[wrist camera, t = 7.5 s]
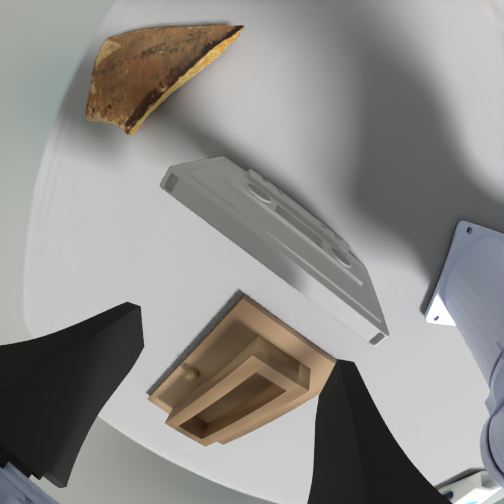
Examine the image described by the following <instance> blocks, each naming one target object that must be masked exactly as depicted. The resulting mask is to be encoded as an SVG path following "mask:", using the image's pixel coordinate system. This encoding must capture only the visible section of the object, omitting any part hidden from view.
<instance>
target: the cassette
mask: <svg viewBox="0 0 504 504" xmlns="http://www.w3.org/2000/svg"><path fill="white" fill-rule="evenodd" d="M160 187H161V188H162V189H163V190H165V191H166V192H167V193H169V194H170V195H171V196H173V197H174V198H175V199H177V200H178V201H179V202H181V203H182V204H183V205H185V206H186V207H187V208H189V209H190V210H191V211H193V212H194V213H195V214H197V215H198V216H199V217H201V218H202V219H203V220H205V221H206V222H207V223H209V224H210V225H211V226H212V227H214V228H215V229H216V230H218V231H219V232H220V233H222V234H223V235H224V236H226V237H227V238H228V239H230V240H231V241H232V242H234V243H235V244H236V245H238V246H239V247H240V248H242V249H243V250H244V251H246V252H247V253H248V254H250V255H251V256H252V257H254V258H255V259H256V260H258V261H259V262H260V263H262V264H263V265H264V266H266V267H267V268H268V269H270V270H271V271H272V272H274V273H275V274H276V275H278V276H279V277H280V278H282V279H283V280H284V281H286V282H287V283H288V284H290V285H291V286H292V287H294V288H295V289H296V290H298V291H299V292H300V293H302V294H303V295H304V296H306V297H307V298H308V299H310V300H311V301H312V302H314V303H315V304H316V305H318V306H319V307H320V308H322V309H323V310H324V311H326V312H327V313H328V314H330V315H331V316H332V317H334V318H335V319H336V320H338V321H339V322H341V323H342V324H343V325H345V326H346V327H347V328H349V329H350V330H351V331H353V332H354V333H355V334H357V335H358V336H359V337H361V338H362V339H363V340H365V341H366V342H367V343H369V344H370V345H371V346H372V347H376V346H378V345H379V344H380V343H381V342H383V341H384V340H385V339H386V338H387V337H388V336H389V332H388V328H387V325H386V322H385V319H384V316H383V313H382V310H381V307H380V304H379V301H378V298H377V295H376V293H375V290H374V287H373V284H372V282H371V279H370V276H369V273H368V271H367V269H366V267H365V266H364V265H363V264H362V263H361V262H359V261H358V260H357V259H356V258H355V257H354V256H353V255H351V254H350V253H349V249H350V246H349V245H348V244H347V243H345V242H344V241H343V240H342V239H341V238H339V237H338V236H337V235H336V234H335V233H333V232H332V231H331V230H330V229H329V228H327V227H326V226H325V225H324V224H322V223H321V222H320V221H319V220H318V219H316V218H315V217H314V216H313V215H311V214H310V213H309V212H308V211H306V210H305V209H304V208H303V207H301V206H300V205H299V204H297V203H296V202H295V201H294V200H292V199H291V198H290V197H288V196H287V195H286V194H285V193H283V192H282V191H281V190H279V189H278V188H277V187H275V186H274V185H273V184H271V183H270V182H269V181H267V180H266V179H265V178H263V177H262V176H261V175H259V174H258V173H257V172H255V171H254V170H253V169H251V168H250V169H249V170H248V171H245V170H243V169H242V168H240V167H239V166H238V165H236V164H235V163H233V162H232V161H231V160H229V159H228V158H226V157H224V156H220V157H215V158H209V159H203V160H198V161H193V162H188V163H183V164H178V165H173V166H170V167H169V169H168V170H167V172H166V174H165V176H164V178H163V179H162V181H161V183H160Z"/></svg>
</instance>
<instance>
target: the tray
mask: <svg viewBox="0 0 504 504" xmlns="http://www.w3.org/2000/svg"><path fill="white" fill-rule="evenodd" d="M336 361H337V360H336V359H334V358H333V357H331V356H330V355H328V354H327V353H326V352H324V351H323V350H321V349H320V348H318V347H317V346H316V345H314V344H313V343H311V342H310V341H308V340H307V339H306V338H304V337H303V336H301V335H300V334H299V333H297V332H296V331H294V330H293V329H292V328H290V327H289V326H287V325H286V324H285V323H283V322H282V321H280V320H279V319H278V318H276V317H275V316H274V315H272V314H271V313H269V312H268V311H267V310H265V309H264V308H263V307H261V306H260V305H259V304H257V303H256V302H255V301H253V300H252V299H251V298H249V297H248V296H247V295H244V296H243V297H242V298H241V299H240V300H239V301H238V302H237V303H236V305H235V306H234V307H233V308H232V309H231V310H230V311H229V312H228V313H227V314H226V316H225V317H224V318H223V319H222V320H221V321H220V322H219V323H218V324H217V325H216V326H215V327H214V329H213V330H212V331H211V332H210V333H209V334H208V335H207V336H206V337H205V338H204V339H203V340H202V341H201V343H200V344H199V345H198V346H197V347H196V348H195V349H194V350H193V351H192V352H191V353H190V354H189V355H188V356H187V357H186V359H185V360H184V361H183V362H182V363H181V364H180V365H179V366H178V367H177V368H176V369H175V370H174V371H173V372H172V373H171V374H170V375H169V376H168V377H167V379H166V380H165V381H164V382H163V383H162V384H161V385H160V386H159V387H158V388H157V389H156V390H155V391H154V392H153V393H152V394H151V395H150V396H149V398H148V400H149V401H151V402H152V403H154V404H155V405H157V406H158V407H160V408H161V409H163V410H164V411H166V412H167V413H169V416H168V418H167V420H166V422H165V423H166V424H167V425H169V426H170V427H172V428H174V429H175V430H177V431H179V432H180V433H182V434H184V435H186V436H187V437H189V438H191V439H193V440H194V441H196V442H198V443H200V444H202V445H204V446H208V445H210V444H212V443H215V442H219V443H221V444H226V443H228V442H230V441H232V440H235V439H237V438H239V437H241V436H243V435H245V434H247V433H249V432H252V431H254V430H256V429H258V428H260V427H262V426H263V425H265V424H267V423H269V422H271V421H273V420H275V419H277V418H279V417H280V416H282V415H284V414H286V413H288V412H289V411H291V410H293V409H295V408H296V407H298V406H300V405H301V404H303V403H305V402H306V401H308V400H310V399H311V398H313V397H315V396H316V395H318V394H319V393H321V391H322V389H323V387H324V385H325V383H326V381H327V379H328V377H329V375H330V373H331V371H332V369H333V367H334V365H335V363H336Z"/></svg>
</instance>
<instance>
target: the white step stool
mask: <svg viewBox="0 0 504 504" xmlns="http://www.w3.org/2000/svg"><path fill="white" fill-rule="evenodd" d="M500 488H501V486H499V485H498V484H497V483H496V482H494V481H493V480H492V478H491V477H490V476H489V474H488V472H487V471H479V472H477V473H475V474H473V475H471V476H468V477H466V478H464V479H461V480H459V481H456V482H454V483H451V484H449V485H446V486H444V487H442V488H440V489H438V491H439V492H440V493H441V494H442V495H444V494H446V493H449V492H451V491H452V492H453V497H452V498H450V499H448V500H449V501H450V502H452V503H453V504H480V503H482V502H483V501H484V500H486V499H487V498H489V497H490V496H491V495H493V494H494V493H495V492H496V491H498V490H499V489H500Z"/></svg>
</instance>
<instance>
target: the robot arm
mask: <svg viewBox="0 0 504 504" xmlns="http://www.w3.org/2000/svg"><path fill="white" fill-rule="evenodd" d="M468 227H470V230H469V232H467V228H468ZM436 315H438V316H437V317H436V318H434V317H435V316H436ZM424 317H425V320H426V321H427V322H429V323H437V324H445V325H454V326H457V328H458V330H459V331H460V333H461V335H462V337H463V338H464V340H465V342H466V344H467V345H468V347H469V349H470V351H471V353H472V354H473V356H474V358H475V360H476V362H477V364H478V366H479V368H480V370H481V372H482V374H483V376H484V378H485V380H486V382H487V384H488V386H489V388H490V394H489V396H488V398H487V399H486V401H485V404H486V406H487V409H488V411H489V414H490V417H489V418H488V419H487V421H486V422H485V424H484V426H483V429H482V432H481V437H480V451H481V457H482V461H483V464H484V466H485V469H486V471H487V472H488V474H489V476H490V477H491V478H492V480H493V481H494V482H496V483H497V484H498V485H499V486H501V487H503V488H504V234H503V233H500V232H497V231H494V230H491V229H488V228H485V227H482V226H479V225H476V224H473V223H470V222H467V221H460V222H459V223H458V225H457V227H456V231H455V234H454V238H453V241H452V244H451V247H450V251H449V254H448V257H447V260H446V262H445V265H444V268H443V271H442V274H441V276H440V279H439V282H438V284H437V287H436V289H435V292H434V294H433V297H432V299H431V301H430V304H429V306H428V308H427V311H426V313H425V316H424ZM143 348H144V339H143V329H142V317H141V306H138V305H135V304H132V303H130V302H125V303H123V304H120V305H118V306H116V307H113V308H111V309H109V310H107V311H105V312H102V313H100V314H98V315H96V316H94V317H91V318H89V319H87V320H85V321H82V322H80V323H78V324H75V325H73V326H70V327H68V328H65V329H63V330H60V331H57V332H55V333H52V334H49V335H46V336H43V337H39V338H36V339H32V340H28V341H23V342H18V343H13V344H8V345H1V346H0V504H34V503H35V504H60V503H59V502H57V501H56V500H55V499H53V498H52V497H51V496H49V495H48V494H47V493H45V492H44V491H43V490H42V489H40V488H39V487H38V486H37V485H35V484H34V483H33V482H32V481H31V480H30V479H29V477H30V476H31V474H32V475H34V476H35V477H36V478H37V479H38V480H40V479H41V478H42V476H44V477H45V478H46V479H47V480H49V481H50V482H52V483H53V484H54V485H55V486H57V487H59V488H64V487H66V486H67V483H68V480H69V477H70V474H71V471H72V468H73V465H74V463H75V460H76V458H77V455H78V453H79V451H80V448H81V446H82V444H83V442H84V440H85V438H86V436H87V434H88V432H89V430H90V428H91V426H92V424H93V423H94V421H95V419H96V417H97V415H98V414H99V412H100V411H101V409H102V408H103V406H104V405H105V403H106V402H107V401H108V399H109V398H110V397H111V395H112V394H113V393H114V391H115V390H116V389H117V387H118V386H119V385H120V384H121V382H122V381H123V380H124V378H125V377H126V376H127V374H128V373H129V372H130V370H131V369H132V367H133V366H134V364H135V362H136V361H137V359H138V357H139V355H140V353H141V352H142V350H143ZM307 504H453V503H452V502H450V501H449V500H448V499H446V498H445V497H444V496H443V495H442V494H441V493H440V492H439V491H438V490H437V489H435V488H434V487H433V486H432V485H431V484H430V483H429V482H428V481H427V480H426V478H425V477H424V476H423V475H422V474H421V473H420V472H419V470H418V469H417V468H416V467H415V466H414V465H413V463H412V462H411V461H410V460H409V458H408V457H407V456H406V454H405V453H404V451H403V450H402V449H401V447H400V446H399V444H398V443H397V442H396V440H395V439H394V437H393V435H392V434H391V432H390V430H389V429H388V427H387V425H386V424H385V422H384V420H383V418H382V417H381V415H380V413H379V411H378V409H377V407H376V405H375V403H374V401H373V400H372V398H371V396H370V394H369V392H368V389H367V387H366V385H365V383H364V381H363V379H362V377H361V375H360V373H359V371H358V369H357V367H356V365H355V363H354V362H351V361H346V360H340V359H337V361H336V363H335V365H334V367H333V369H332V371H331V373H330V375H329V377H328V379H327V381H326V383H325V385H324V387H323V389H322V391H321V393H320V394H319V399H318V406H317V413H316V420H315V446H314V467H313V477H312V484H311V489H310V494H309V499H308V503H307Z"/></svg>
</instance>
